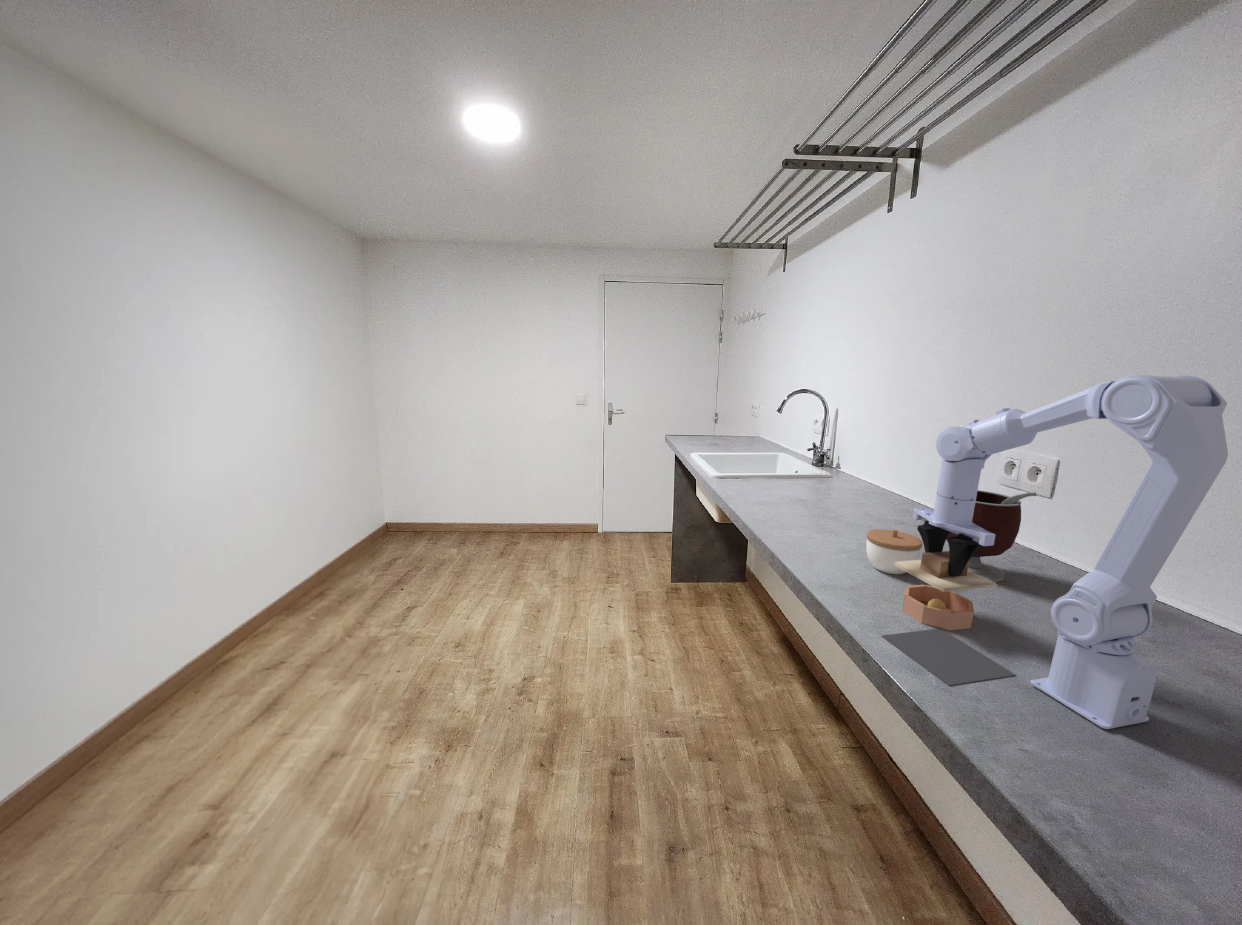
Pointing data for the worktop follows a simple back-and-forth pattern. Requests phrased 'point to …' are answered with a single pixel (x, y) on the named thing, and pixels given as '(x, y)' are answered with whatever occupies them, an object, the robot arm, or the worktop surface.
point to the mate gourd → (995, 529)
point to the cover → (943, 573)
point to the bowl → (950, 619)
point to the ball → (937, 604)
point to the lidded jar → (891, 549)
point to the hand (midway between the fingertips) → (943, 569)
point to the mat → (947, 657)
